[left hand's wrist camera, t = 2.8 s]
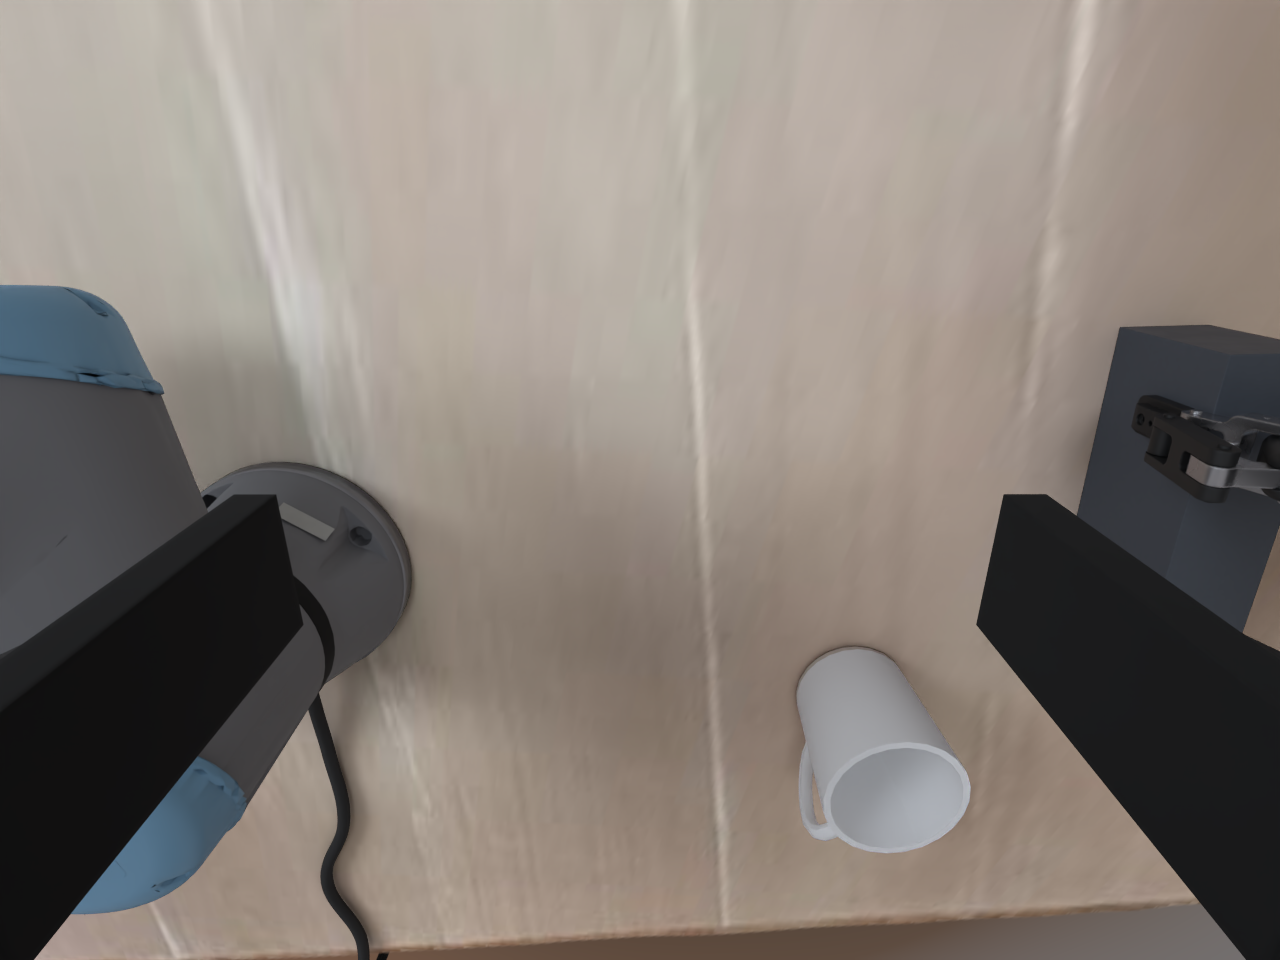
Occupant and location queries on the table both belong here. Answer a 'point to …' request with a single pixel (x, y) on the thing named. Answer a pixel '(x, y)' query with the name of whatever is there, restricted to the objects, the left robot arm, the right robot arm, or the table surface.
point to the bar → (1154, 505)
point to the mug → (874, 756)
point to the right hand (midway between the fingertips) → (1194, 410)
